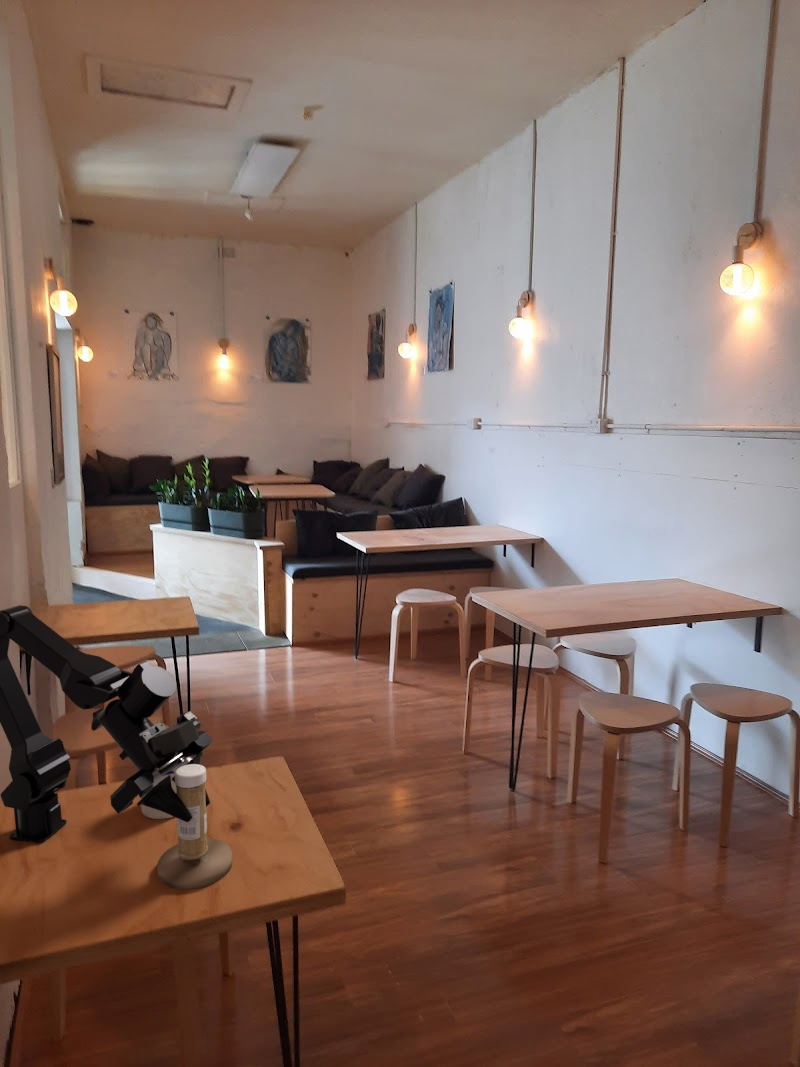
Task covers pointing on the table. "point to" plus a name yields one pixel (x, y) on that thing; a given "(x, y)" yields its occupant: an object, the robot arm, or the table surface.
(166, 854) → the grey-brown round disc
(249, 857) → the table surface
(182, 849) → the sprinkles bottle
